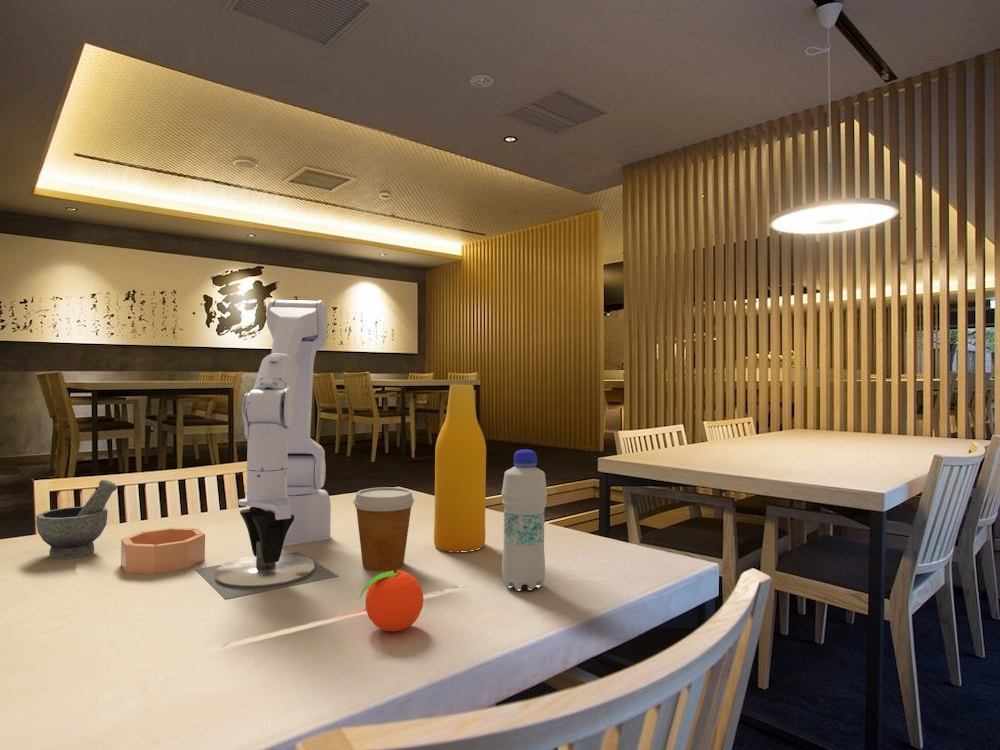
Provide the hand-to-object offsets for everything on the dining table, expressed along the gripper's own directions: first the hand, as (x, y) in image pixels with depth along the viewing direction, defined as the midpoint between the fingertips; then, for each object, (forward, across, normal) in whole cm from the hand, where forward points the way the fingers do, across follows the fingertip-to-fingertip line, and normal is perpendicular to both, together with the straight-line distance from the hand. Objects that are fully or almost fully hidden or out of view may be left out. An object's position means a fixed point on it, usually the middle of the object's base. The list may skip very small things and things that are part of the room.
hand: (266, 558), depth 93 cm
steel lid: (+2, 0, 0) cm, 2 cm away
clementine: (+3, +29, +5) cm, 30 cm away
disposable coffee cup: (+3, +7, +16) cm, 18 cm away
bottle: (+3, +27, +28) cm, 39 cm away
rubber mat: (+3, 0, 0) cm, 3 cm away
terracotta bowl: (+3, -15, -11) cm, 19 cm away
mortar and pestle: (+3, -31, -21) cm, 38 cm away
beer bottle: (+3, +4, +33) cm, 33 cm away
